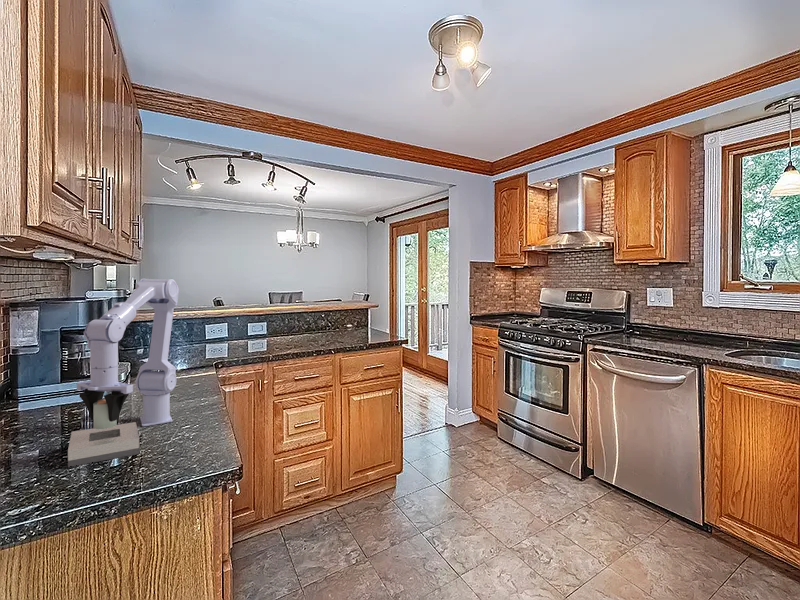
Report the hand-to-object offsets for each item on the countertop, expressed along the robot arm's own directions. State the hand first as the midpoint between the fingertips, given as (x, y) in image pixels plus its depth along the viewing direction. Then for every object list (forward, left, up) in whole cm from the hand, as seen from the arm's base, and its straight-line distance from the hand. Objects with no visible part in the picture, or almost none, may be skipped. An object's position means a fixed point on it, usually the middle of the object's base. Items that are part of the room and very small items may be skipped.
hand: (104, 419), depth 105 cm
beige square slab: (0, 0, -8) cm, 8 cm away
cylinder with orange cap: (0, 0, -2) cm, 2 cm away
